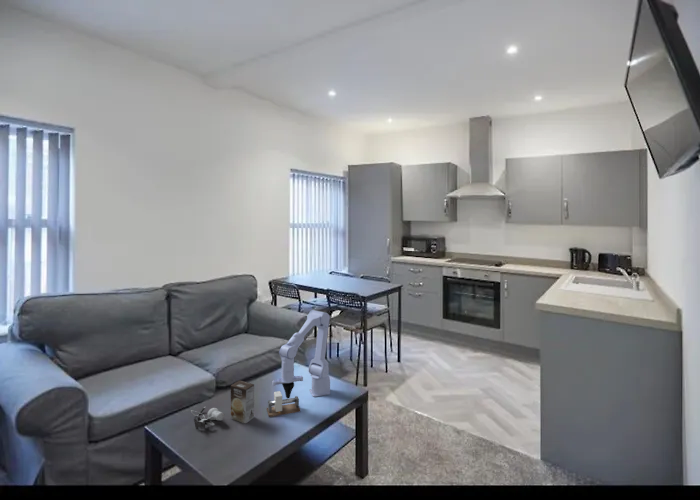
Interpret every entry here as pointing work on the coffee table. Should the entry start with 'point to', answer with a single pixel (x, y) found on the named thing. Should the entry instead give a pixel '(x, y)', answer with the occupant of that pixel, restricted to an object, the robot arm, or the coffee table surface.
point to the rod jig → (284, 407)
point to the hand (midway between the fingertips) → (287, 397)
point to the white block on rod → (278, 401)
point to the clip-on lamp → (212, 415)
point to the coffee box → (242, 401)
